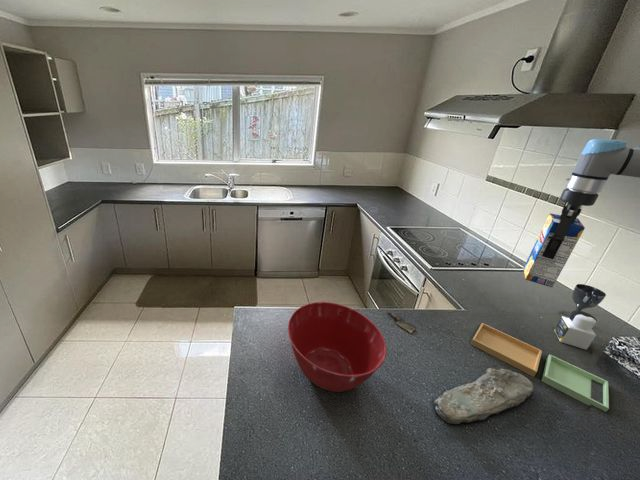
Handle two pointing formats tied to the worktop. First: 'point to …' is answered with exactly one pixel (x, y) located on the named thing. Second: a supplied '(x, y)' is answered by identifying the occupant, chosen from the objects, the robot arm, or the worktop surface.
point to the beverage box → (549, 269)
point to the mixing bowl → (335, 345)
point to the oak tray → (507, 349)
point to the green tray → (573, 381)
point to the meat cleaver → (401, 323)
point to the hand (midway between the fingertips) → (549, 252)
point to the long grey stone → (483, 396)
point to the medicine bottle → (576, 329)
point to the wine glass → (586, 297)
